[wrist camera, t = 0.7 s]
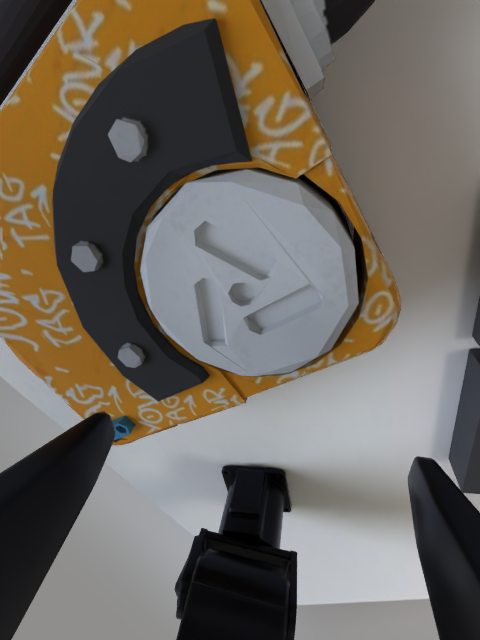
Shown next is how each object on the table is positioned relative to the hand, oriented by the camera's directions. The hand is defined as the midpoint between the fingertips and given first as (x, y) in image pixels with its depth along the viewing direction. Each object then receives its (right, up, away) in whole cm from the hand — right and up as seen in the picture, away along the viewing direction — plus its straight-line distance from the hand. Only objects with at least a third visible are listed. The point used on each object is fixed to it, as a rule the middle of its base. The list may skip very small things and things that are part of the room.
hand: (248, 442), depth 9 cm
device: (-4, +11, +11) cm, 16 cm away
